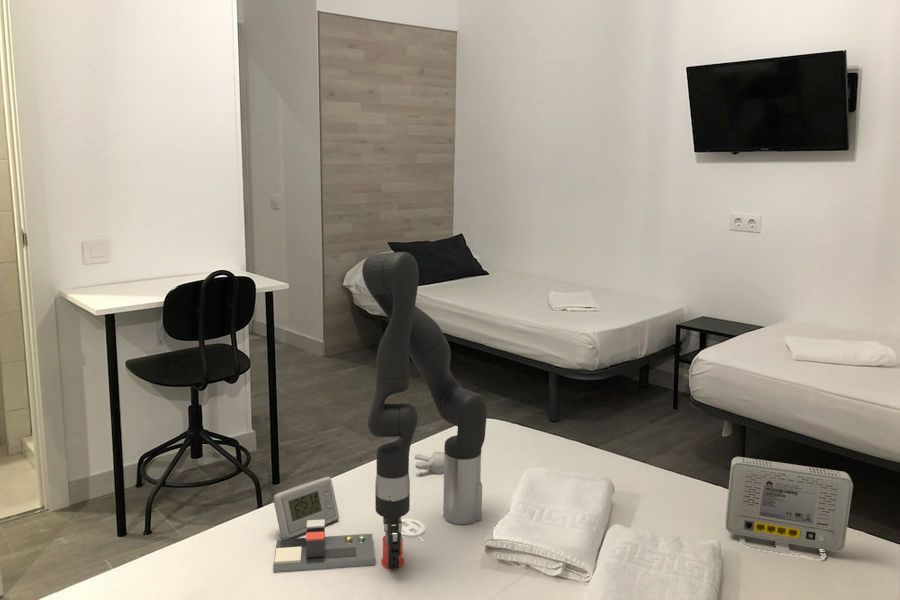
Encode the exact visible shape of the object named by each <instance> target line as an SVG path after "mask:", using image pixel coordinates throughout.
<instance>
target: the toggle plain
mask: <svg viewBox="0 0 900 600" xmlns="http://www.w3.org/2000/svg"><path fill="white" fill-rule="evenodd" d="M325 528H326V525H325V519H322V520H307V533H308V532H323V531H324V539H325V537H326V529H325Z"/></svg>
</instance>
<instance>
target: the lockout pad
mask: <svg viewBox="0 0 900 600" xmlns="http://www.w3.org/2000/svg"><path fill="white" fill-rule="evenodd" d="M275 550H276V554H275V553H274V557H275V561H274V560H273V565H274V564H287V563H301V550H302V547H287V548H276V547H275Z"/></svg>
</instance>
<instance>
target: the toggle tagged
mask: <svg viewBox="0 0 900 600" xmlns="http://www.w3.org/2000/svg"><path fill="white" fill-rule="evenodd" d="M305 538H306V558H309V557H323V556H325V539H324V531H323V532H308V533H305Z"/></svg>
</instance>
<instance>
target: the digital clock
mask: <svg viewBox="0 0 900 600" xmlns="http://www.w3.org/2000/svg"><path fill="white" fill-rule="evenodd" d="M273 504H274V509H275V514H276V518H277V523H278V529H279V533H280V536H281V539H293V538H294V537H296V538H297V537H299V536H302V535H304V534H305V535H306V533H307V520H322V519H325V526H328V524H330V523H333V522H335V521H337V520H338V519H339V517H340V515H339V514H340V513H339V508H338V504H337V500H336V495H335V490H334V485H333V481H332V477H330V476H324V477H322V478H319V479H313V480H311V481H308V482H305V483H301V484H299V485H296V486H292V487H289V488H287V489H286V490H283V491H281V492H277V493H276V494H274V495H273Z"/></svg>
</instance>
